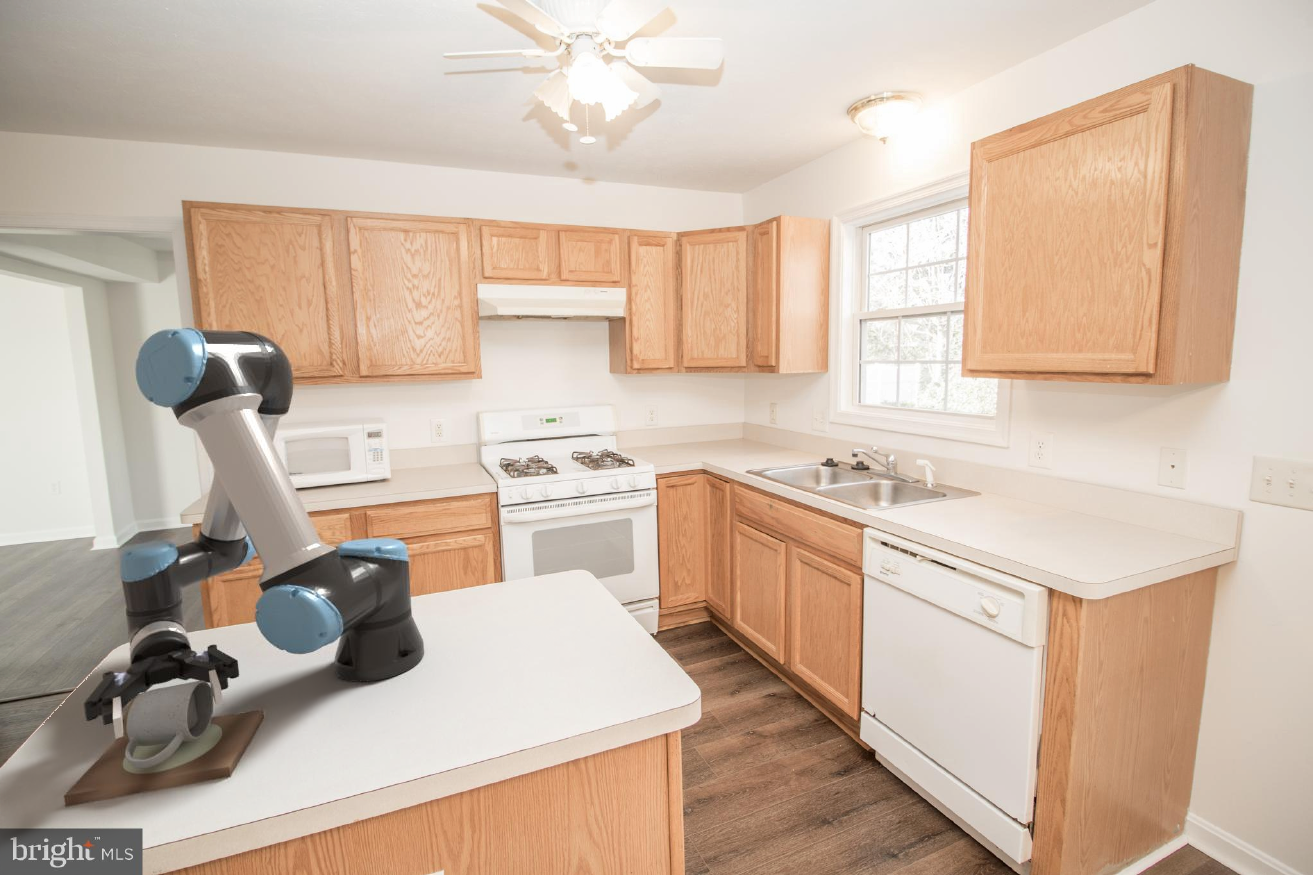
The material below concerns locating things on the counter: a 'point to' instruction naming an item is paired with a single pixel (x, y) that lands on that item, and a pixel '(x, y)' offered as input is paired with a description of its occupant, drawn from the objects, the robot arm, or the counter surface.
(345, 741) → the counter surface
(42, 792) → the counter surface
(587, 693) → the counter surface
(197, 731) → the speckled gray mug
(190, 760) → the walnut board
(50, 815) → the counter surface
